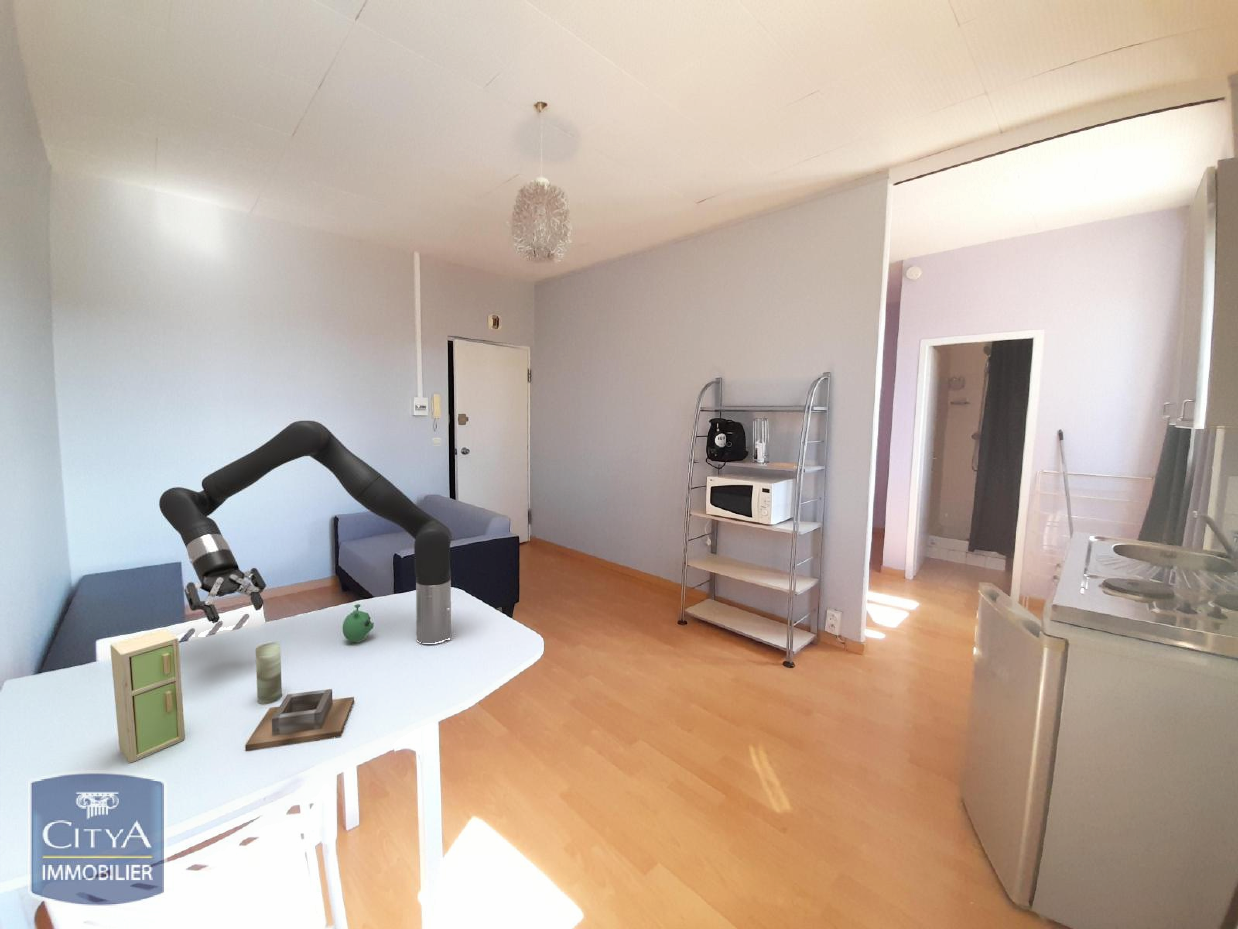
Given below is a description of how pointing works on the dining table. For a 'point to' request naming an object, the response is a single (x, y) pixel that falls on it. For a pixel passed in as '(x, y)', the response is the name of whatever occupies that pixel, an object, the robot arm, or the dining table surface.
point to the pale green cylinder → (268, 673)
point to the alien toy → (357, 625)
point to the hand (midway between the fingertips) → (238, 614)
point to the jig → (302, 720)
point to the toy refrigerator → (147, 693)
